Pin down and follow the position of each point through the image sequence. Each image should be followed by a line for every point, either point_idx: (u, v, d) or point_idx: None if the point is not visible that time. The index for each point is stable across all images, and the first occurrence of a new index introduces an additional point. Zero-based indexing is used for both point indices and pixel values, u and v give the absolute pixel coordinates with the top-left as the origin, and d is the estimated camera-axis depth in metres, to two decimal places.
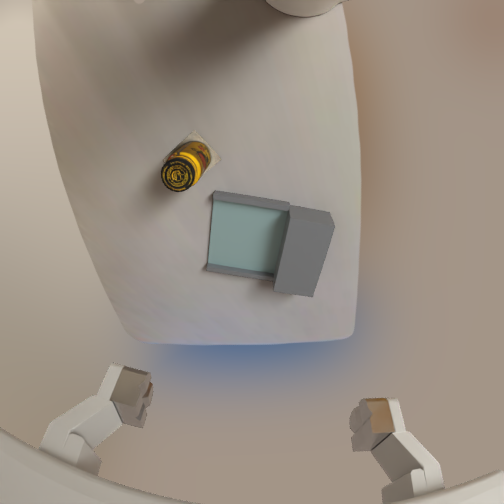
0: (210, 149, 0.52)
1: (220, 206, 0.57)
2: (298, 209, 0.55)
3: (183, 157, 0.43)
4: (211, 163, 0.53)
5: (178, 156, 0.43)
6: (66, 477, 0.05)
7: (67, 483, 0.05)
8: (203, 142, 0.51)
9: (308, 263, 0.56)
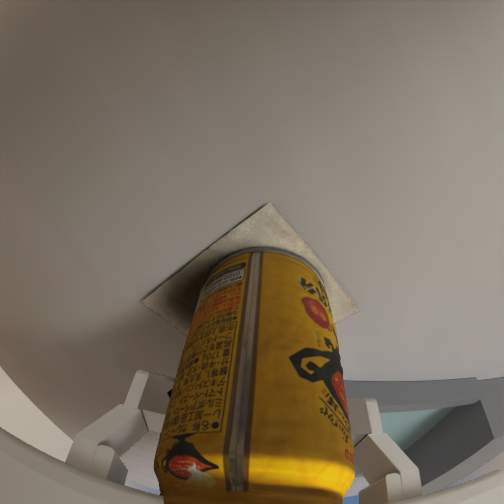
0: (327, 280, 0.14)
1: None
2: (491, 393, 0.17)
3: None
4: None
5: None
6: (66, 477, 0.05)
7: (67, 483, 0.05)
8: (303, 254, 0.13)
9: (470, 468, 0.18)
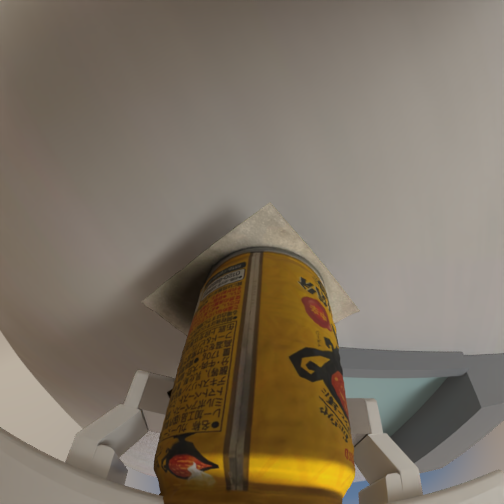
0: (327, 280, 0.14)
1: None
2: (477, 367, 0.20)
3: None
4: None
5: None
6: (66, 477, 0.05)
7: (67, 483, 0.05)
8: (303, 254, 0.13)
9: (463, 445, 0.21)
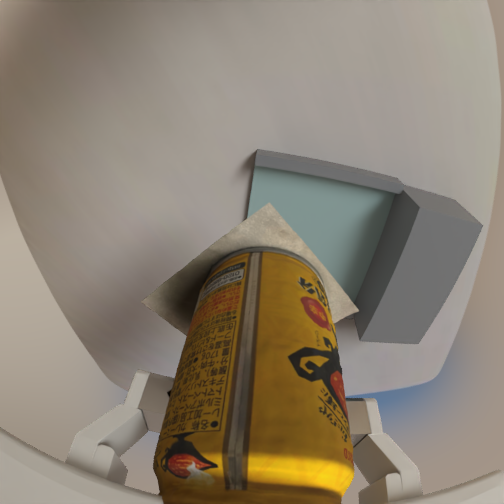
0: (326, 280, 0.14)
1: (267, 181, 0.28)
2: (416, 192, 0.26)
3: None
4: None
5: None
6: (66, 477, 0.05)
7: (67, 483, 0.05)
8: (303, 254, 0.13)
9: (429, 291, 0.27)
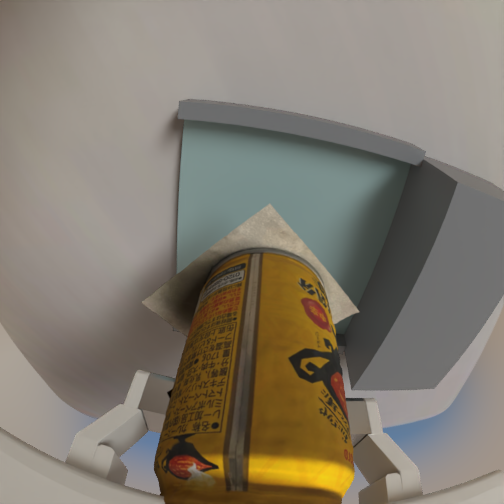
0: (327, 281, 0.14)
1: (204, 147, 0.17)
2: (443, 165, 0.15)
3: None
4: None
5: None
6: (66, 477, 0.05)
7: (67, 483, 0.05)
8: (303, 255, 0.13)
9: (459, 321, 0.16)
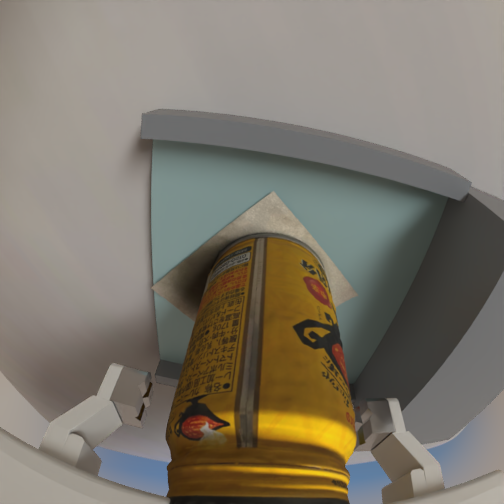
0: (327, 264, 0.15)
1: (181, 174, 0.13)
2: (488, 198, 0.11)
3: (296, 479, 0.05)
4: None
5: (260, 471, 0.05)
6: (66, 477, 0.05)
7: (67, 483, 0.05)
8: (305, 240, 0.14)
9: (488, 381, 0.12)
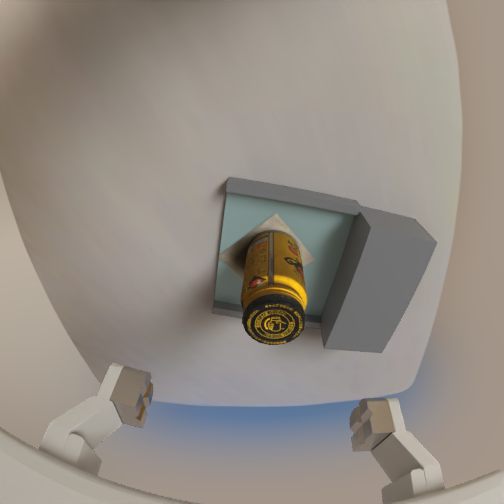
0: (299, 244, 0.34)
1: (238, 205, 0.32)
2: (374, 213, 0.31)
3: (285, 291, 0.24)
4: None
5: (275, 288, 0.24)
6: (66, 477, 0.05)
7: (67, 483, 0.05)
8: (289, 233, 0.33)
9: (386, 303, 0.31)
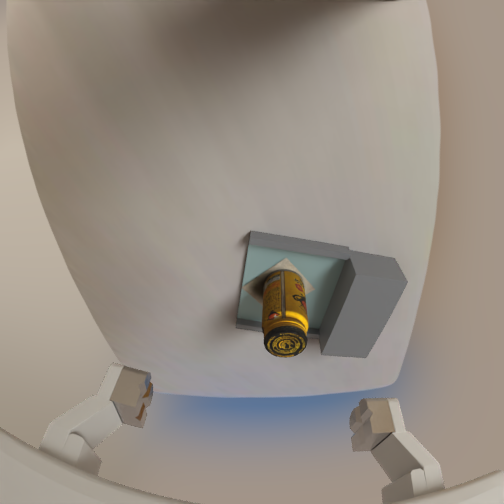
0: (303, 279, 0.45)
1: (257, 252, 0.43)
2: (360, 257, 0.41)
3: (293, 323, 0.35)
4: None
5: (287, 321, 0.35)
6: (66, 477, 0.05)
7: (67, 483, 0.05)
8: (296, 271, 0.44)
9: (368, 324, 0.42)
